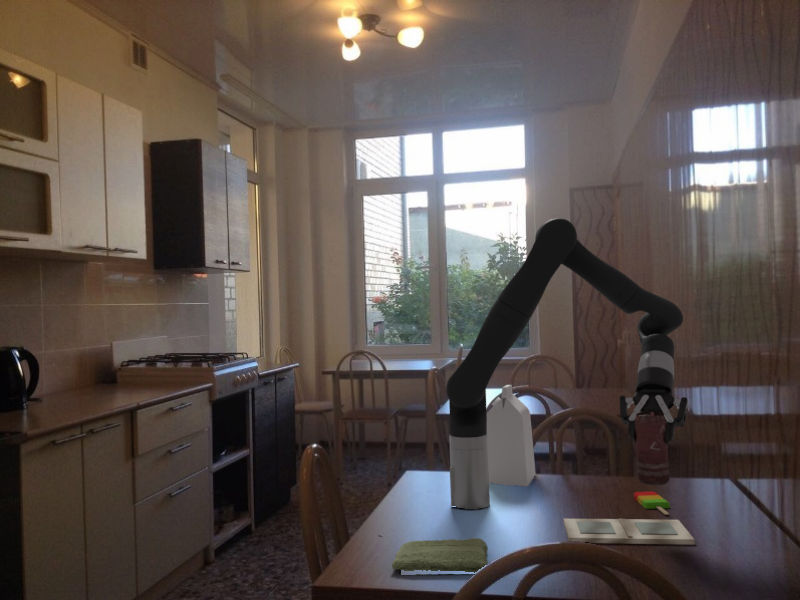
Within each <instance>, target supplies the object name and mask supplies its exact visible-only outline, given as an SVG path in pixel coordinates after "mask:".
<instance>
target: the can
mask: <svg viewBox="0 0 800 600" xmlns="http://www.w3.org/2000/svg"><path fill="white" fill-rule="evenodd" d="M665 432H666V418H665V416H664V414H662V413H656V412H642V413H637V414H636V416H635V434H636V442H635V450H636V453H635V454H636V468H637V480H638V481H639V482H640V483H641V484H644V485H651V486H662V485H667V484H668V483H669V481H670V467H669V466H670V465H669V463H670V462H669V447H668V445H669V444H666V440H665Z"/></svg>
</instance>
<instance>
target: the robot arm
mask: <svg viewBox="0 0 800 600" xmlns="http://www.w3.org/2000/svg"><path fill="white" fill-rule="evenodd" d="M561 265H563V266H564V267H566V268H567V269H569V270H570V271H572V272H573V273H575V274H577V276H579V277H580V278H582V280H584V281H586V283H588V284H589V285H590V286H591V287H592V288H594V289H595V290H596V291H597V292H599V293H600V294H601V295H602V296H603V297H605V298H606V299H607V300H608V301H609V302H611V303H612V304H613V305H615V306H616V308H618V309H619V310H620V311H622V312H623V313H625V314H627V315H630V314H631V315H632V314H635V313H637V312H644V313H645V314H643V315H642V316H641V317H640V319H639V320H638V323H637V328H636V329H637V333H638V338H639V342H640V344H641V347H640V359H639V361H638V367H637V377H636V386H635V393H634V395H633V396H632V397H626V396H625V395H620V396H619V415H620V416H619V417H620V419H621V423H622V424H623V425H628V427H627V435H628V438H629V440H631V442H634V443H636V434H635V416H636V414H637V413H642V412H656V413H662V414H664V416H665V418H666V432H665V440H666V444H667V445H670V444H671V442H673V441H674V440H675V439H674V438H675V429H676V428H677V427H679V428H683V427H685V425H686V420H687V415H688V411H689V401H688V397H686V396H683V397H681V398H675V397H674V383H675V382H674V380H675V364H674V359H675V343H674V341H673V340H672V338H671V337H670V336H669V335H670V334H671V333H672V332H674V331H675V330H677V329H678V328H679V327H681V326H682V324H683V321H684V316H683V313H682V310H681V309H680V308H679V306H677V305H676V304H675V303H674V302H672V301H671V300H669V299H667V298H665V297H662V296H660V295H657V294H655V293H653V292H651V291H648V290H646V289H644V288H643V287H641V285H639V284H638V283H636V282H635V281H634V280H632V278H631V277H629V276H628V275H626V274H625V273H623V272H622V271H621V270H619V269H618V268H616V267H614V266H613V265H611V264H609V263H607V262H606V261H604V260H602V259H601V258H599V257H598V256H597V255H595V254H594V253H592V251H590V250H589V249H588V248H586V246H584V245H583V244H582V243H581V241H579V240H578V234H577V230H576V227H575V225H574V224H573V223H572V222H570V221H569V220H568V219H566V218H561V217H556V218H551V219H549V220H547V221H545V222H544V223H543V224H542V225H540V227H539V228H538V229H537V230H536V233H535V238H534V243H533V245H532V247H531V249H530V251H529V253H528V255H527V256H526V259H525V261H524V263H523V264H522V266H521V267H520V268H519V269H518V271H517V272H516V273H515V274H514V275H513V277H512V278H510V280H509V282H508V283H507V284H506V285H505V287H504V288H503V289H502V290H501V292H500V294H499V295H498V296H497V299H496V300H495V301H494V303H493V305H492V307H491V308H490V310H489V311H488V314H487V315H486V317H485V319H484V322H483V323H482V326H481V328H480V329H479V332H478V334H477V336H476V338H475V341H474V343H473V345H472V347H471V349H470V351H469V352H468V354H467V355H466V356H465V357H464V359H463V360H462V362H461V364H460V365H459V366H458V368H456V370H455V371H453V373H452V374H451V375H450V377H449V378H448V379H447V382H446V387H445V388H446V389H445V391H446V396H447V398H448V406H449V408H448V409H449V416H448V417H449V419H448V433H449V435H448V436H449V438H448V439H449V458H450V461H449V465H450V467H449V483H450V484H449V485H450V486H449V488H450V489H449V490H450V507H451V506H456V507H459V508H466V509H465V510H467V509H474V510H480V509H479V508H482V509H484V508H488V507H489V506H490V502H491V500H490V498H491V497H490V484H489V472H488V448H487V413H488V411H487V388H488V385H489V383H490V380H491V379H492V376H493V375H494V372H495V371H496V369H497V367H498V365H499V363H500V362H501V361H502V359H503V358H504V357H505V356H506V355H507V353H508V352H509V351H510V349H512V347H513V346H514V344H515V343H516V342H517V340H518V338H519V337H520V336H521V334H522V333H523V332H524V330H525V328H526V326H527V325H528V323H529V322H530V320H531V319H532V317H533V314H534V313H535V311H536V309H537V308H538V305H539V303H540V302H541V300H542V297H543V295H544V294H545V293H544V292H546V289H547V287H548V284H549V283H550V282H551V279H552V278H553V277H554V274H555V273H556V271H558V269H559V268H560V266H561ZM631 405H634V408H633V412H632V413H631V415H630V416H629V415H628V412H629V411H628V409H630V407H631ZM674 406H676V409H678V412H677V416H676V417H673V416H672V414H671V412H670V410H671V409H672V408H673V407H674ZM459 508H458V509H459Z"/></svg>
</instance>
